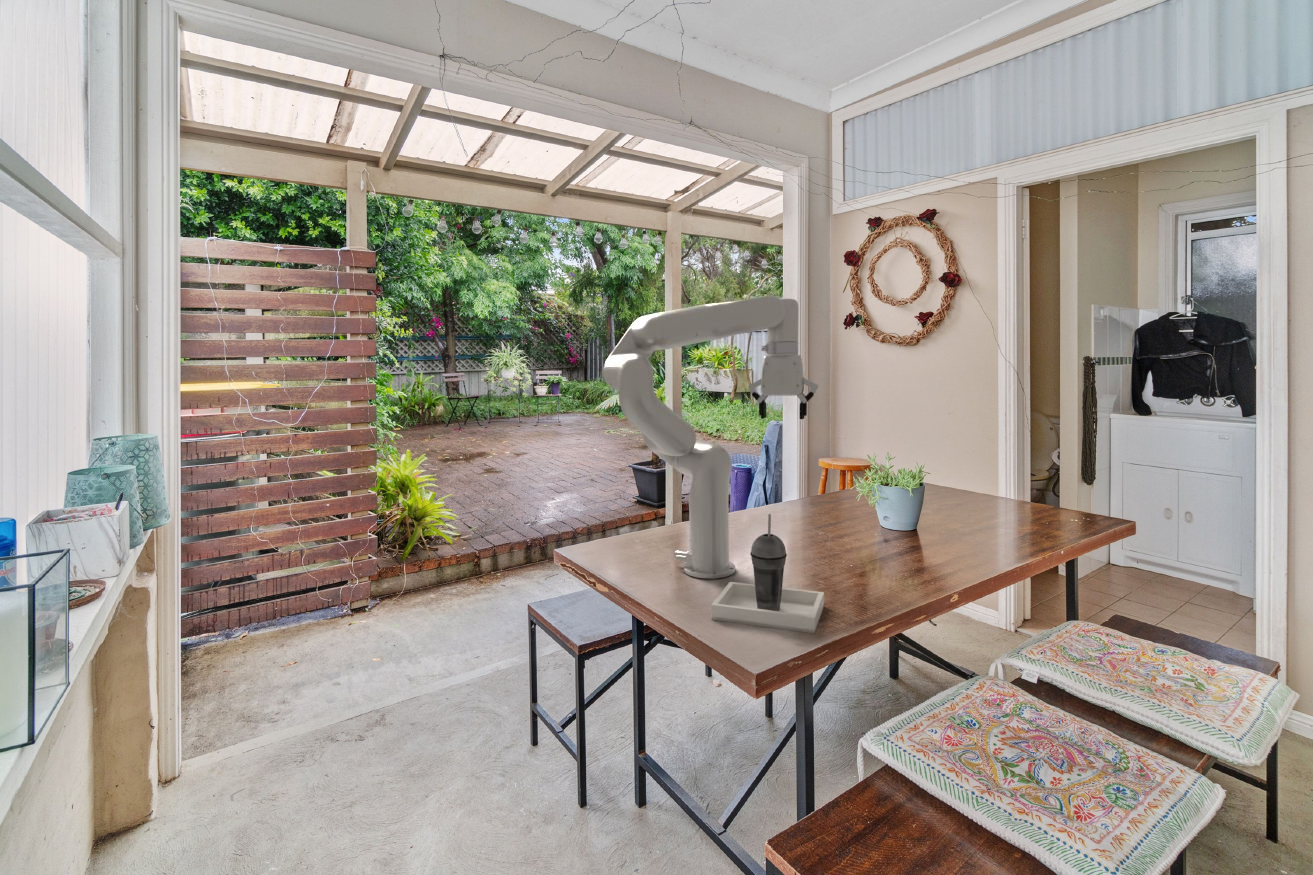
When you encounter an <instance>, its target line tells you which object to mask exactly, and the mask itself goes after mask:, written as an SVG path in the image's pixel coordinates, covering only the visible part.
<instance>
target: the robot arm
mask: <svg viewBox="0 0 1313 875" xmlns="http://www.w3.org/2000/svg"><path fill="white" fill-rule="evenodd" d="M762 330H763V331H764V330H766V331H767V340H766V341H767V343H766V344H765V345H762V346H761V351H762V352H765V353H766V354H767V355H764V356H763V360H762V368H761V377H760V379H757V380H756V381H755V382H753V383H750V384H749V385H748V386H747V388H748V390H749V392H750V394H751V397H752V398H754V400H755V401H757V403H758V416H760V419H761V420H764V419H766V418H767V402H766V399H767V398H768V397H769V396H771V397H772V396H775V397H776V396H777V397H780V396H783V397H784V396H785V397H786V396H787V397H788V396H792V397H793V396H794V397H796V396H797V398H798V399H799V400H800V403H799V419H800V420H804V419H805V417H807V414H808V413H807V412H808V403H809V401H810V400H811V399H813V397H814V396H815V394H816V393H817V391H818V388H819V384H817V383H815V382H813V381H812V380H809V379H807V378H805V377H804V367H803V366H804V365H803V359H802V355H801V354H799V302H798V300H795V299H794V298H779V297H778V296H775V295H773V294H770V295H769V294H768V295H763V296H762V295H761V296H756V297H752V298H747V299H741V300H739V299H738V300H734V301H727V302H713V303H705V304H699V305H694V306H687V307H682V308H678V309H677V308H676V309H671V310H666V311H665V310H664V311H660V312H655V313H650V314H645V315H641V316H640V317H638V318H637V319H636V320H634V321H633V322H632V324H631V325H630V326H629V327H628V329H627V330H626V332H625V333H624V335H623V336H622V337H621V339H620V340H619V341H618V343H617V345H616V346H615V347H614V349H612V351H611V353H610V354H609V355H608V357H607V359H606V360H605V363H604V364H603V369H602V374H603V375H602V376H603V379H604V381H605V383H606V384H607V385H608V386H609V387H611V388H612V389H614V390H616V391H618V401H619V406H620V408H621V412H622V414H623V416H624V417H625V419H626V420H627V421H628V422H629V424H631V425H632V426H633V427H634V428H635V429H636V430H638V431H639V432H640V433H641V434H642V439H643V441H644V444H645V446H647V448H648V449H649V450H650V451H651V452H652V453H653V454H655V455H656V456H657V457H659V458H660V459H661V460H663V461H664V462H665V463H667V464H668V465H669V466H671V467H672V468H673V469H675V470H676V471H677V472H679V473H681V474H682V475H684V476H687V477H689V478H692V479H691V480H692V482H691V485H690V489H689V495H688V511H689V512H688V513H689V516H688V519H689V520H688V521H689V550H687V551H683V550H675V551H674V555H673V556H674V558H675V561H677V562H684V565H683V572H684V573H685V574H686V575H688V576H691V577H694V578H698V579H709V580H710V579H711V580H713V579H714V580H715V579H721V578H726V577H729V576H732V575H733V574H735V572H736V565H735V564H734V563H733V562H732V561H730V553H729V552H730V546H729V545H730V543H729V542H730V540H729V539H730V536H729V534H730V530H729V529H730V528H729V526H730V524H729V519H730V518H729V511H730V510H729V490H730V481H731V475H732V469H733V464H732V463H733V462H732V459H731V455H730V454H729V451H727V449H725V447H723V446H722V445H719V444H718V443H715V442H711V441H705V440H700V439H698V438H697V434H696V431H695V430H694V427H693V426H692V425H691V423H689V421H687V420H686V419H684V417H682V416H680V415H679V414H677V413H676V412H675V411H673V410H672V409H671V408H670V407H668V406H667V405H666V404H665V403H664V402H663V401H662V400H661V399H660V398H659V397H658V396H657V394H656V393H655V388H654V367H653V365H652V362H650V360H649V359H650V358H651V356H652V354H653V353H654V352H655V351H665V350H669V349H676V348H680V347H685V346H691V345H694V344H695V345H696V344H700V343H705V342H710V341H711V342H712V341H717V340H722V339H724V338H728V337H732V336H736V335H741V334H746V333H751V332H753V333H754V332H756V331H762ZM759 386H760V392H761V394H759V393H758V392H757V389H756V388H758V387H759ZM805 386H807V387H809V388H810V391H809V392H808V393H807V394H805V393H804V390H805Z"/></svg>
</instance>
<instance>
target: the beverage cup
mask: <svg viewBox="0 0 1313 875" xmlns="http://www.w3.org/2000/svg"><path fill="white" fill-rule="evenodd" d="M767 518H768V521H767V523H768V524H767V533H763V534H761V535H759V536H758V537H756V538H755V540H754V541H753V542H752V546H751V549H750V557H751V565H752V568H753V578H754V584H755V591H756V602H757V609H764V610H772V611H779V610H780V603H781V595H782V588H783V584H784V582H783V581H784V572H785V565H786V561H787V556H788V554H787V550H786V546H785V543H784V542H783V540H782V539H781V538H780V537H779V536H777V535H776V534H773V533H772V532H771V528H772V527H771V526H772V514H771V513H769V514H768V517H767Z"/></svg>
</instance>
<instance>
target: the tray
mask: <svg viewBox="0 0 1313 875" xmlns="http://www.w3.org/2000/svg"><path fill="white" fill-rule="evenodd" d="M824 606H825V592H824V591H817V590H816V591H815V590H807V589H799V588H798V589H797V588H790V587H789V588H788V587H782V595H781V603H780V610H779V611H772V610H764V609H757V602H756V591H755V583H754V584H751V583H745V582H736V581H735V582H734V581H729V582H728V583H727V585H726V586H725V587H724V589H723V590H722V591H721V592H720V593H719V595H718V596H717V597H716V598H715V600H714V601H713V602H712V603H711V605H710V608H711V610H710V611H711V614H710V615H711V617H710V618H711V620H712V621H713V620H714V621H721V622H729V623H734V624H741V625H748V626H749V625H751V626H758V627H764V628H773V629H781V630H786V631H793V632H802V633H807V634H808V633H809V634H815V632H816V630H817V627H818V624H819V621H820V618H821V616H822V613H823V610H824Z"/></svg>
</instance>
